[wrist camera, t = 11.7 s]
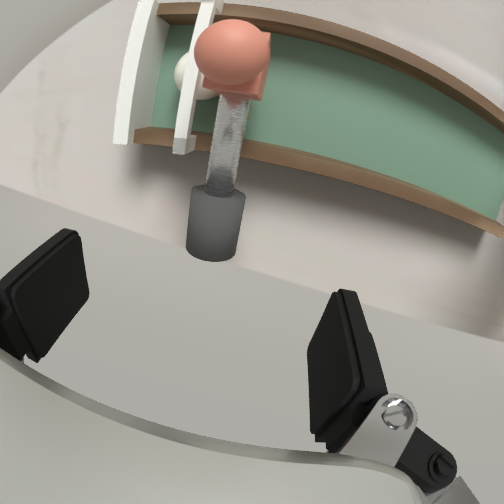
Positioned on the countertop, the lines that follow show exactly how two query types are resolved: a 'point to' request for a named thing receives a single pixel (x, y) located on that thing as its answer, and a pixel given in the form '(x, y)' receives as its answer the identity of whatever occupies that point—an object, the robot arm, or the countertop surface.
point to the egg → (202, 92)
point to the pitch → (351, 114)
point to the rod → (226, 132)
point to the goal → (157, 75)
